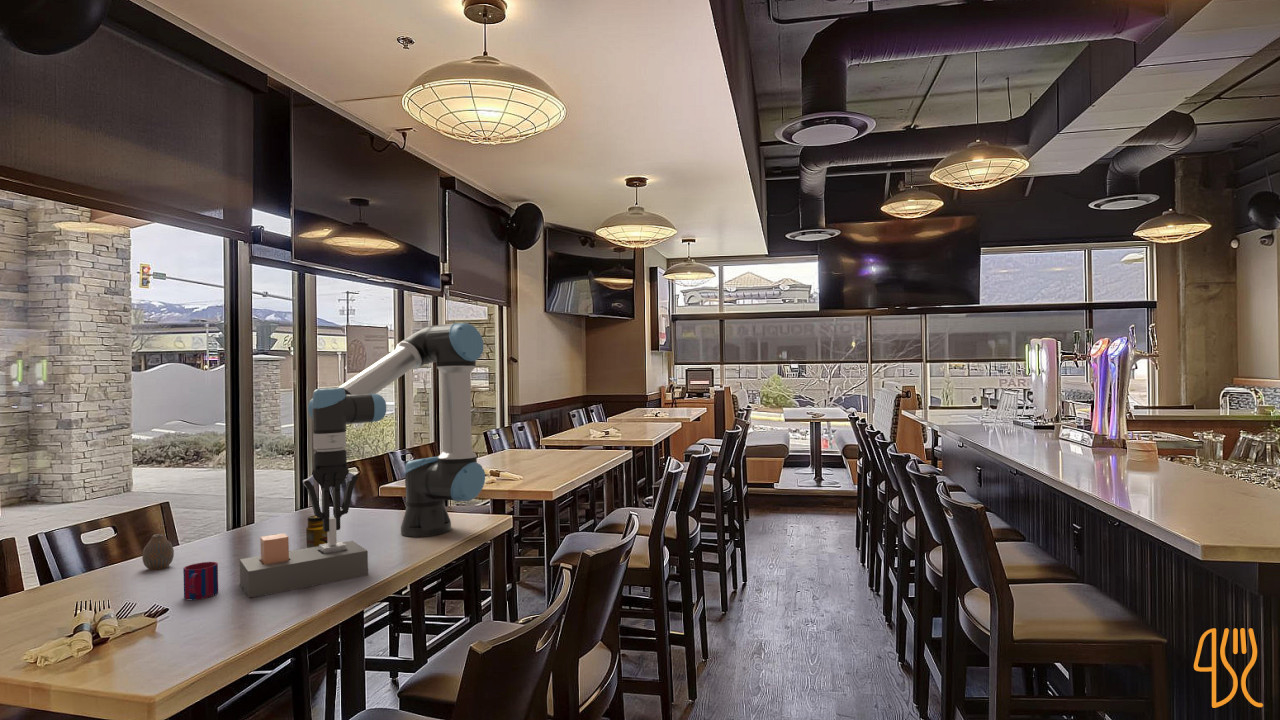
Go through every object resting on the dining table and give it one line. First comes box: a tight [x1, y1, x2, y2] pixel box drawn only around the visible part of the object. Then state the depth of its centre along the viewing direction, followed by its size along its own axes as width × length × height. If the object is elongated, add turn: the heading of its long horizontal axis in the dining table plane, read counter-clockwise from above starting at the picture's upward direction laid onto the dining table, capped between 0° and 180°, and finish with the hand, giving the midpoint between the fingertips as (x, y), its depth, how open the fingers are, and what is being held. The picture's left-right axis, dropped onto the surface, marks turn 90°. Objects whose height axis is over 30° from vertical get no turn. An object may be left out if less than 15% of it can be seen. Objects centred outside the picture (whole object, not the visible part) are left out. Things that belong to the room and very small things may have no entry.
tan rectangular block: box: [259, 532, 290, 565], centre depth 167 cm, size 5×5×6 cm
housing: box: [239, 540, 369, 599], centre depth 170 cm, size 26×14×6 cm, turn 127°
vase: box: [141, 533, 175, 571], centre depth 186 cm, size 7×7×9 cm
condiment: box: [305, 515, 328, 548], centre depth 188 cm, size 7×8×12 cm
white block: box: [319, 540, 346, 554], centre depth 174 cm, size 5×5×6 cm
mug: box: [182, 561, 219, 601], centre depth 159 cm, size 7×10×7 cm
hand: (332, 543), depth 174 cm, fingers closed
